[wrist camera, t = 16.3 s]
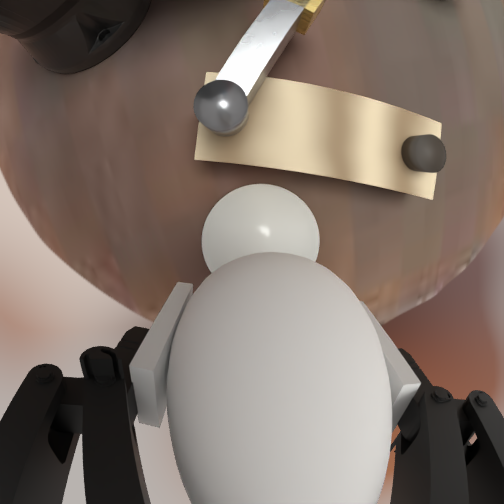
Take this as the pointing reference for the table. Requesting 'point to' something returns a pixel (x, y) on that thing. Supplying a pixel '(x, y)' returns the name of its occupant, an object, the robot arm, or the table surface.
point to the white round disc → (258, 225)
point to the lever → (252, 64)
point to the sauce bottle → (278, 388)
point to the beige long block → (332, 138)
